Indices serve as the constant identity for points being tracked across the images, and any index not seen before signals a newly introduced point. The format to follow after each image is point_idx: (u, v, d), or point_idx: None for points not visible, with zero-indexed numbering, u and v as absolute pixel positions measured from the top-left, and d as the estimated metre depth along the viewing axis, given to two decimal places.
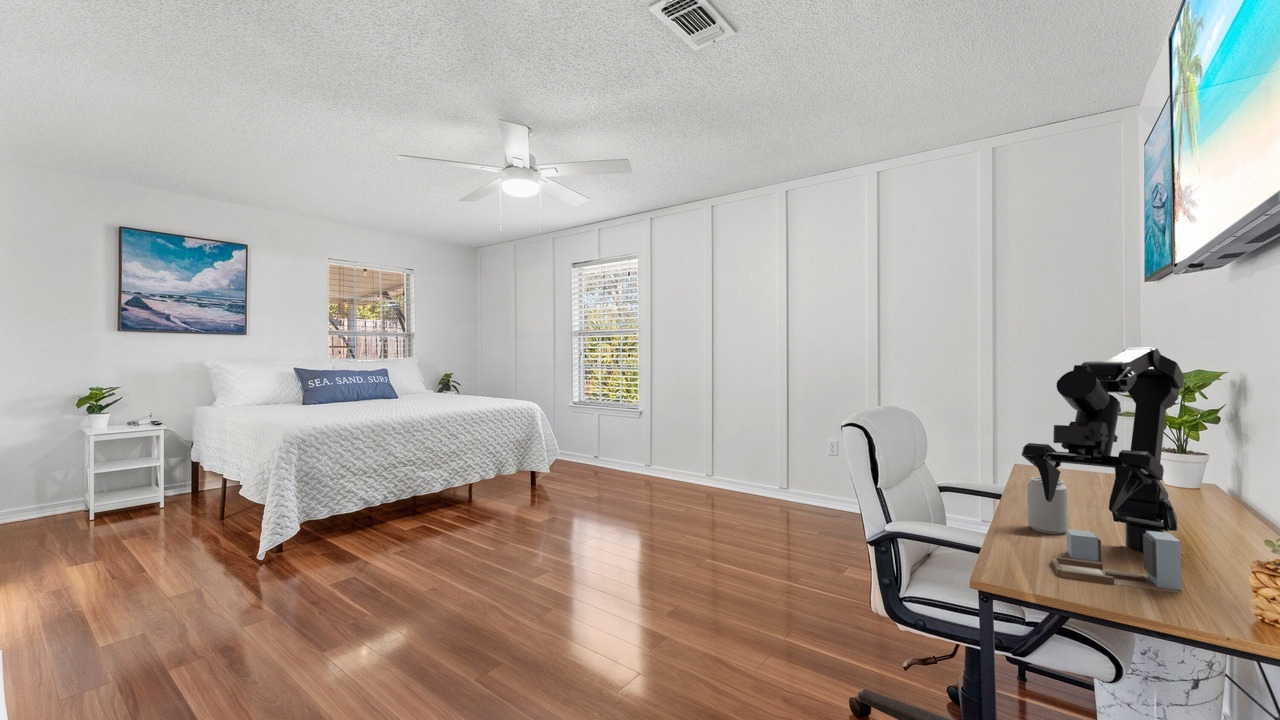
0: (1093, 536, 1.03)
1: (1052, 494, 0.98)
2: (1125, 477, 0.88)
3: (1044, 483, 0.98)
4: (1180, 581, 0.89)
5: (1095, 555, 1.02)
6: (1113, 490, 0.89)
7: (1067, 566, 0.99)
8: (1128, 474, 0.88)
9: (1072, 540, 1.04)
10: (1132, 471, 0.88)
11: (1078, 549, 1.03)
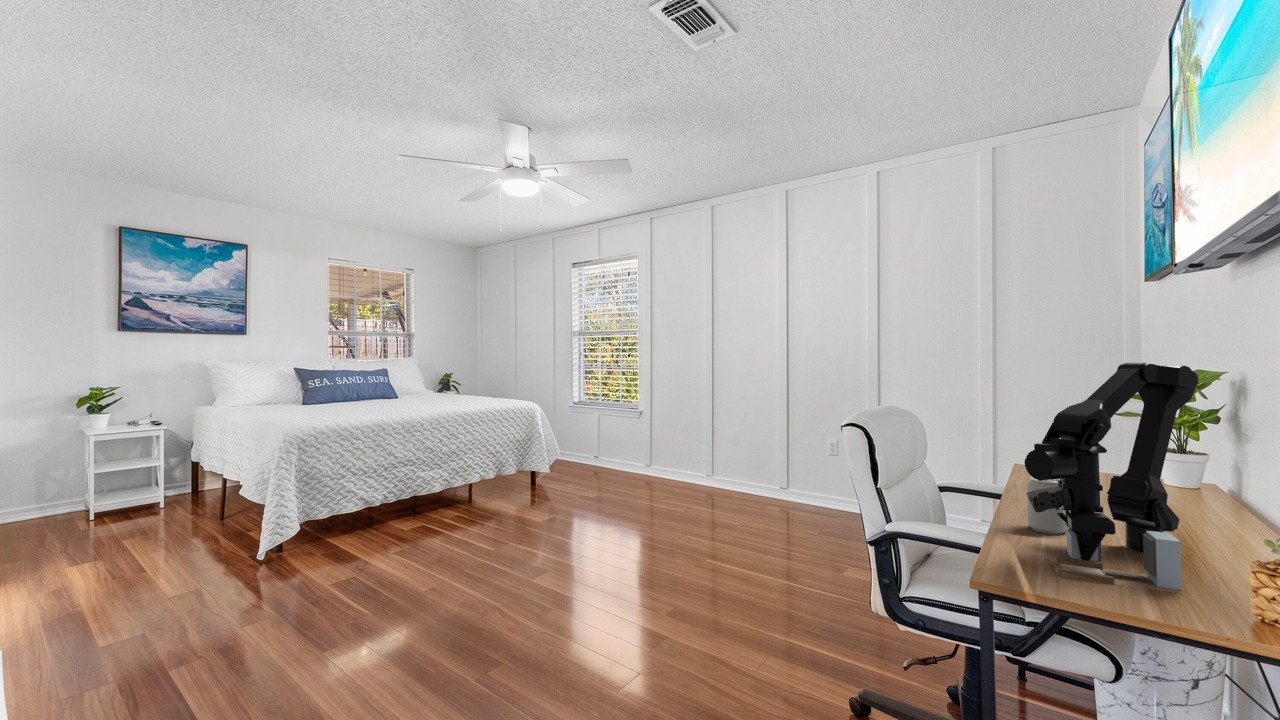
0: None
1: None
2: (1075, 533, 1.02)
3: None
4: (1180, 581, 0.89)
5: (1095, 555, 1.02)
6: (1077, 543, 1.03)
7: (1067, 566, 0.99)
8: (1073, 531, 1.02)
9: (1072, 540, 1.04)
10: None
11: (1078, 548, 1.03)
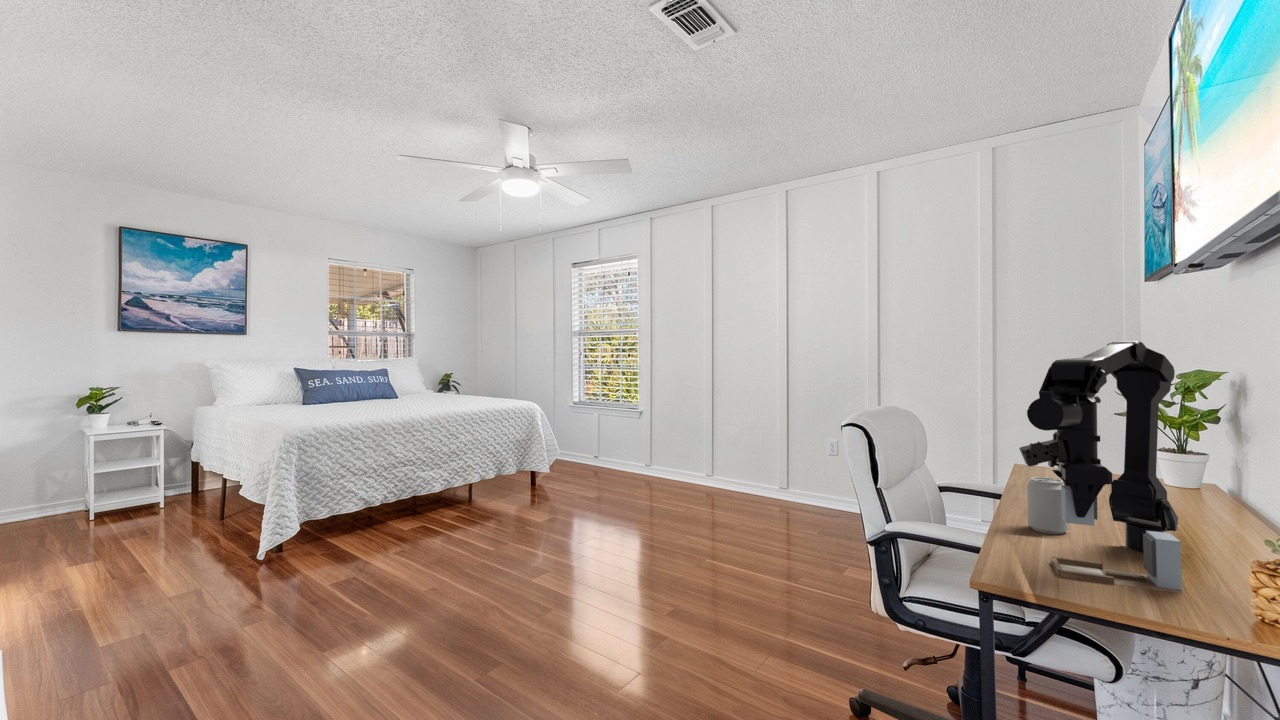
0: None
1: None
2: None
3: None
4: (1180, 581, 0.89)
5: (1091, 510, 0.96)
6: (1072, 498, 0.97)
7: (1067, 566, 0.99)
8: (1067, 484, 0.95)
9: (1066, 495, 0.97)
10: (1066, 482, 0.95)
11: (1073, 504, 0.97)
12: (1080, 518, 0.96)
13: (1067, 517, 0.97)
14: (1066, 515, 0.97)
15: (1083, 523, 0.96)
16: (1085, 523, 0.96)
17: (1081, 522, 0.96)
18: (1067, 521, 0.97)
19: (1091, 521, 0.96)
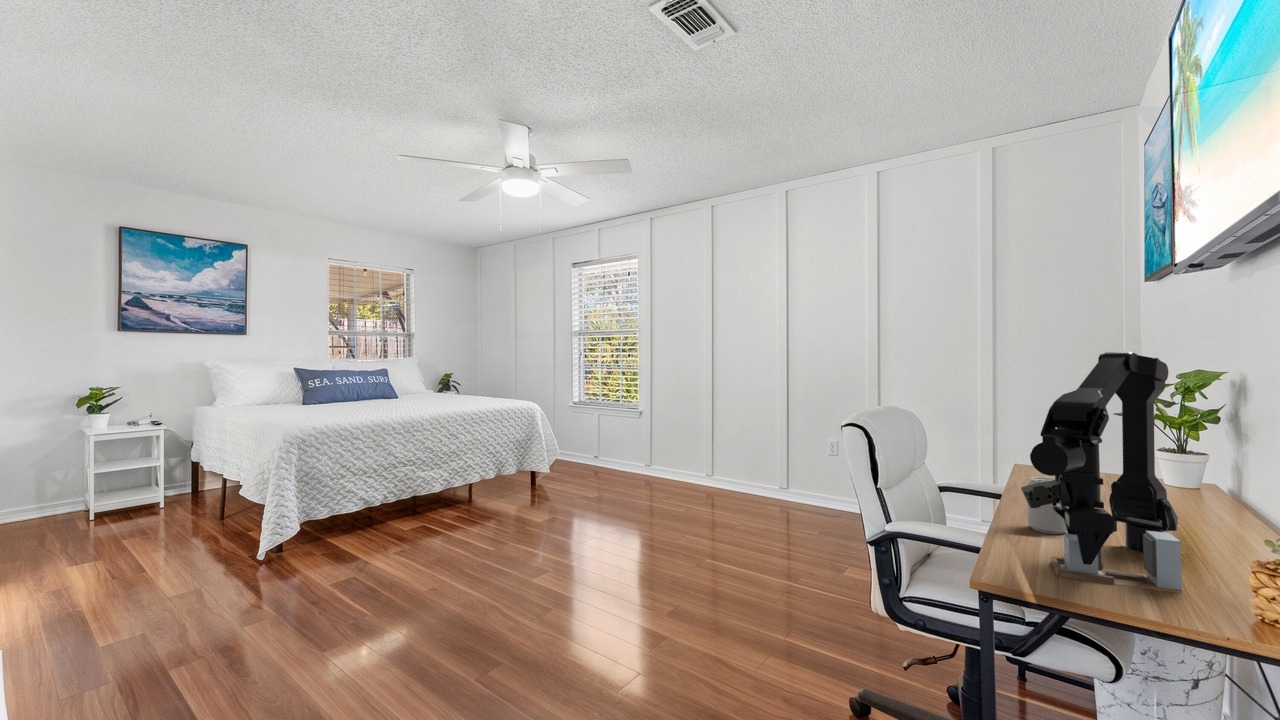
0: None
1: None
2: (1075, 533, 0.93)
3: (1067, 532, 1.02)
4: (1180, 581, 0.89)
5: (1095, 562, 0.94)
6: None
7: None
8: (1073, 531, 0.92)
9: (1070, 545, 0.96)
10: (1072, 529, 0.92)
11: (1077, 555, 0.96)
12: (1084, 569, 0.95)
13: (1071, 568, 0.96)
14: (1070, 566, 0.96)
15: None
16: None
17: None
18: None
19: (1096, 573, 0.94)
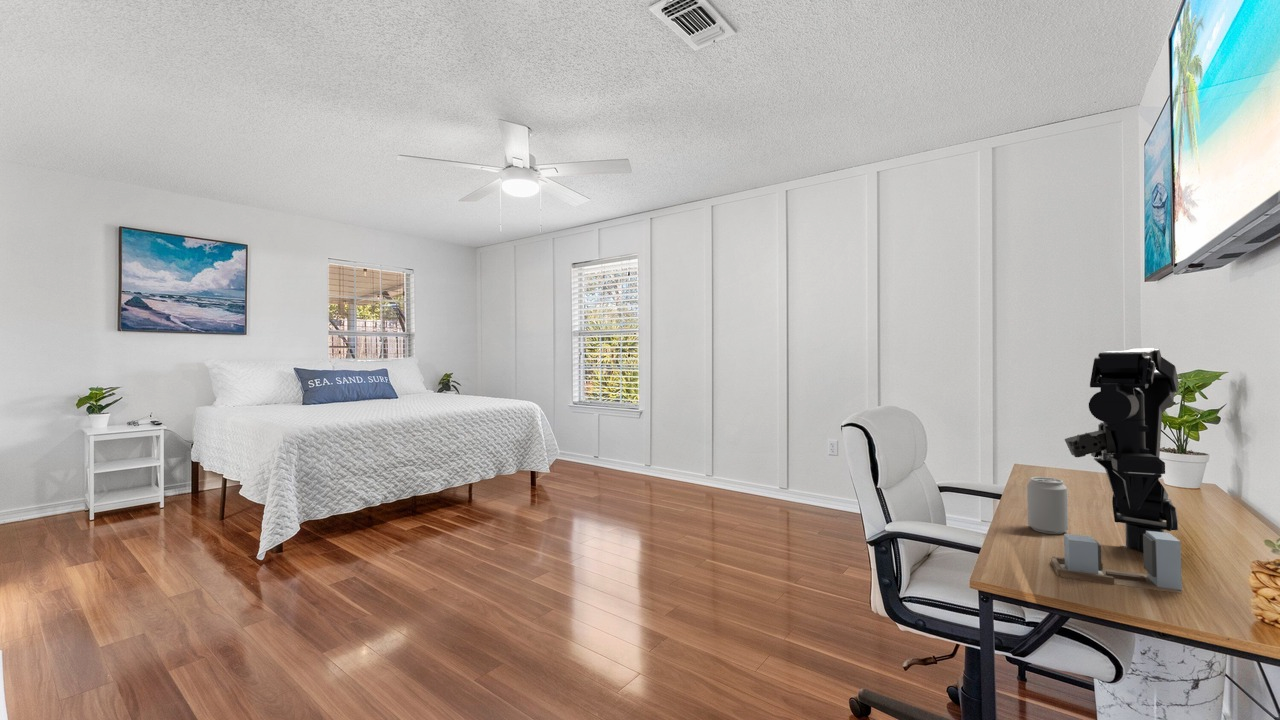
0: (1093, 541, 0.95)
1: (1121, 490, 1.03)
2: (1123, 479, 0.95)
3: None
4: (1180, 581, 0.89)
5: (1095, 562, 0.94)
6: (1125, 491, 0.96)
7: None
8: (1121, 477, 0.94)
9: (1070, 545, 0.96)
10: (1120, 474, 0.94)
11: (1077, 555, 0.96)
12: (1084, 569, 0.95)
13: (1071, 568, 0.96)
14: (1070, 566, 0.96)
15: None
16: None
17: None
18: None
19: (1096, 573, 0.94)
